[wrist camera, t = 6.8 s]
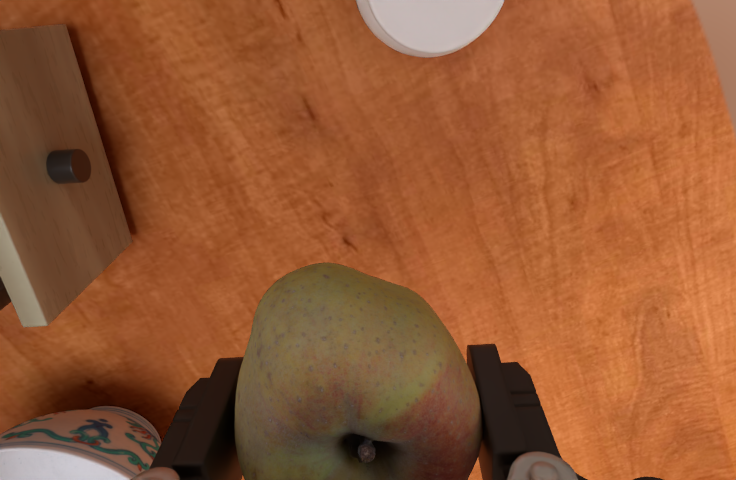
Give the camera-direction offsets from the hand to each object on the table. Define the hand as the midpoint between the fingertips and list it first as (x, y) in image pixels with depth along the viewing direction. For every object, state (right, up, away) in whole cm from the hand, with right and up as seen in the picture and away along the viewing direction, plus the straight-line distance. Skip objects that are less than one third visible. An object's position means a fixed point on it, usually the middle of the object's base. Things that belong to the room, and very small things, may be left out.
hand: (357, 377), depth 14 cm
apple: (0, +1, +2) cm, 2 cm away
